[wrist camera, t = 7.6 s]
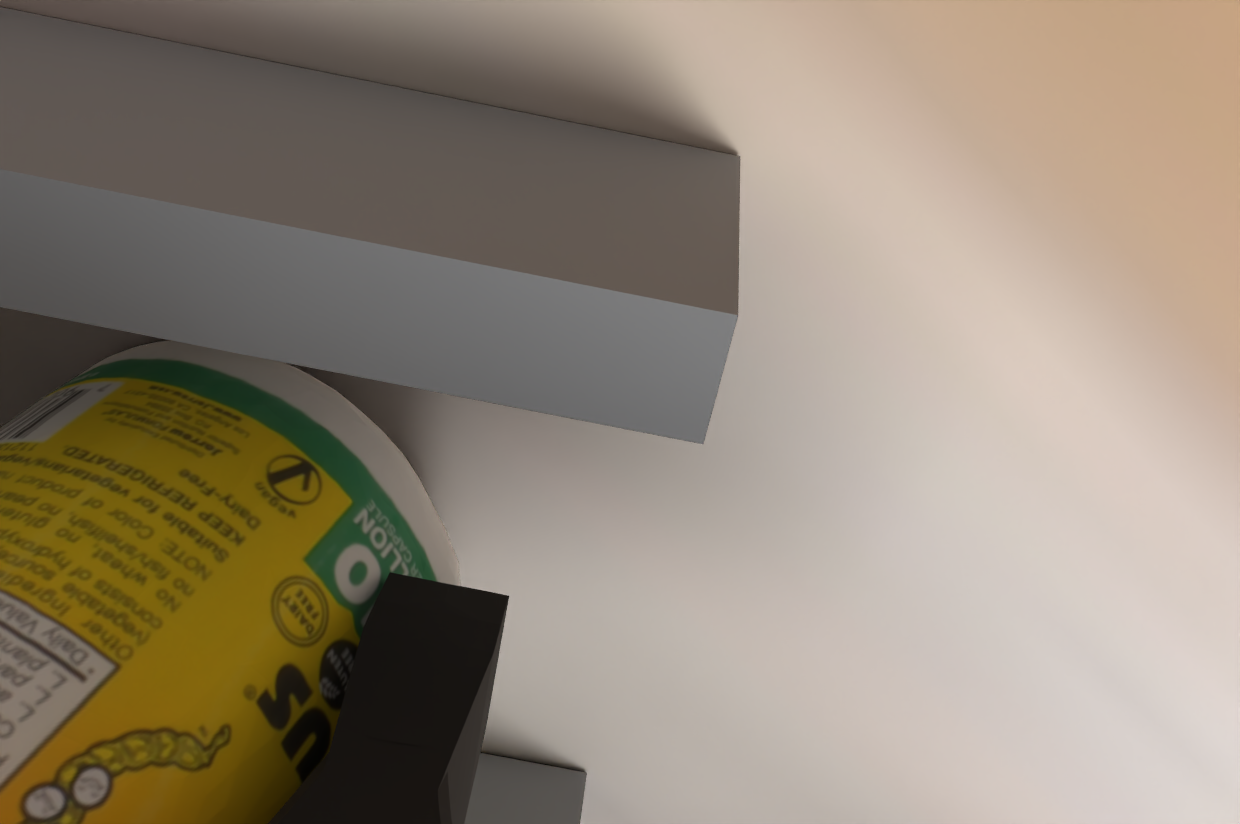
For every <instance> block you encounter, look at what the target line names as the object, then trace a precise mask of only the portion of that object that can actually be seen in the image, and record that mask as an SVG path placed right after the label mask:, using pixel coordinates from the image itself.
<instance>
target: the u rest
mask: <svg viewBox="0 0 1240 824" xmlns="http://www.w3.org/2000/svg"><path fill="white" fill-rule="evenodd" d="M739 204H740V156H736V155H731V154H726V153H721V152H716V151H711V150H706V149H702V148H697V147H692V146H687V145H682V144H677V143H672V142H667V141H662V140H657V139H652V138H647V137H642V136H637V135H632V134H627V133H622V132H617V131H612V130H607V129H602V128H598V127H593V126H588V125H583V124H578V123H573V122H568V121H563V120H558V119H553V118H548V117H543V116H538V115H533V114H528V113H523V112H518V111H513V110H508V109H503V108H498V107H494V106H489V105H484V104H479V103H474V102H469V101H464V100H459V99H454V98H449V97H444V96H439V95H434V94H429V93H424V92H419V91H414V90H409V89H404V88H399V87H394V86H390V85H385V84H380V83H375V82H370V81H365V80H360V79H355V78H350V77H345V76H340V75H335V74H330V73H325V72H320V71H315V70H310V69H305V68H300V67H295V66H290V65H285V64H281V63H276V62H271V61H266V60H261V59H256V58H251V57H246V56H241V55H236V54H231V53H226V52H221V51H216V50H211V49H206V48H201V47H196V46H191V45H186V44H181V43H177V42H172V41H167V40H162V39H157V38H152V37H147V36H142V35H137V34H132V33H127V32H122V31H117V30H112V29H107V28H102V27H97V26H92V25H87V24H82V23H77V22H73V21H68V20H63V19H58V18H53V17H48V16H43V15H38V14H33V13H28V12H23V11H18V10H13V9H8V8H3V7H0V307H2V308H7V309H13V310H18V311H23V312H28V313H33V314H38V315H43V316H48V317H54V318H59V319H64V320H69V321H74V322H79V323H84V324H89V325H95V326H100V327H105V328H110V329H115V330H120V331H125V332H130V333H136V334H141V335H146V336H151V337H156V338H161V339H166V340H171V341H177V342H182V343H187V344H192V345H197V346H202V347H207V348H212V349H218V350H223V351H228V352H233V353H238V354H243V355H248V356H253V357H259V358H264V359H269V360H274V361H279V362H284V363H289V364H294V365H300V366H305V367H310V368H315V369H320V370H325V371H330V372H335V373H341V374H346V375H351V376H356V377H361V378H366V379H371V380H376V381H382V382H387V383H392V384H397V385H402V386H407V387H412V388H418V389H423V390H428V391H433V392H438V393H443V394H448V395H453V396H459V397H464V398H469V399H474V400H479V401H484V402H489V403H494V404H500V405H505V406H510V407H515V408H520V409H525V410H530V411H535V412H541V413H546V414H551V415H556V416H561V417H566V418H571V419H576V420H582V421H587V422H592V423H597V424H602V425H607V426H612V427H617V428H623V429H628V430H633V431H638V432H643V433H648V434H653V435H658V436H664V437H669V438H674V439H679V440H684V441H689V442H694V443H699V444H703V443H704V440H705V436H706V432H707V429H708V425H709V421H710V417H711V414H712V410H713V406H714V403H715V399H716V395H717V392H718V388H719V384H720V380H721V377H722V373H723V369H724V366H725V362H726V358H727V354H728V351H729V347H730V343H731V340H732V336H733V332H734V329H735V325H736V321H737V317H738V281H739ZM586 775H587V773H585V772H580V771H575V770H569V769H564V768H558V767H553V766H548V765H542V764H537V763H532V762H526V761H521V760H516V759H510V758H505V757H500V756H494V755H489V754H484V753H480V756H479V761H478V765H477V770H476V774H475V778H474V783H473V787H472V792H471V796H470V801H469V805H468V809H467V814H466V818H465V823H464V824H580V819H581V811H582V804H583V797H584V789H585V782H586Z"/></svg>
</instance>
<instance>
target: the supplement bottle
mask: <svg viewBox="0 0 1240 824" xmlns="http://www.w3.org/2000/svg"><path fill="white" fill-rule="evenodd" d="M390 572H391V573H396V574H401V575H406V576H412V577H417V578H422V579H427V580H432V581H437V582H442V583H447V584H452V585H457V586H461V583H460V576H459V562H458V559H457V557H456V555H455V552H454V550H453V547H452V544H451V542H450V539H449V537H448V534H447V532H446V529H445V527H444V525H443V523H442V521H441V520H440V518H439V516H438V514H437V512H436V510H435V508H434V506H433V504H432V502H431V500H430V498H429V496H428V495H427V493H426V491H425V489H424V487H423V485H422V483H421V481H420V479H419V477H418V476H417V474H416V473H415V471H414V470H413V468H412V467H411V465H410V464H409V462H408V461H407V459H406V458H405V456H404V455H403V453H402V452H401V451H400V450H399V449H398V448H397V447H396V445H395V444H394V443H393V442H392V441H391V440H390V439H389V438H388V436H387V435H386V434H385V433H384V432H383V431H382V430H381V429H380V428H379V427H378V426H377V425H376V424H375V423H374V422H373V421H372V420H370V419H369V418H368V417H367V416H366V415H365V414H364V413H363V412H361V411H360V410H359V409H358V408H357V407H356V406H354V405H353V404H352V403H351V402H350V401H348V400H347V399H346V398H345V397H343V396H342V395H341V394H340V393H338V392H337V391H336V390H335V389H333V388H331V387H329V386H328V385H326V384H324V383H323V382H321V381H319V380H318V379H316V378H314V377H313V376H311V375H309V374H307V373H305V372H303V371H302V370H300V369H298V368H296V367H293V366H291V365H289V364H287V363H284V362H279V361H274V360H269V359H264V358H259V357H253V356H248V355H243V354H238V353H233V352H228V351H223V350H218V349H212V348H207V347H202V346H197V345H192V344H187V343H182V342H177V341H162V342H155V343H150V344H145V345H141V346H137V347H134V348H131V349H128V350H124V351H122V352H120V353H117V354H115V355H112V356H110V357H107V358H106V359H104V360H102V361H100V362H98V363H96V364H95V365H93V366H92V367H90V368H89V369H87V370H86V371H84V372H83V373H81V374H80V375H78V376H77V377H75V378H74V379H72V380H71V381H69V382H67V383H66V384H64V385H63V386H61V387H60V388H58V389H57V390H55V391H54V392H52V393H50V394H49V395H47V396H46V397H44V398H43V399H41V400H40V401H38V402H37V403H35V404H34V405H32V406H31V407H30V408H28V409H27V410H25V411H24V412H23V413H21V414H20V415H18V416H17V417H15V418H14V419H12V420H11V421H9V422H8V423H6V424H5V425H3V426H1V427H0V824H267V823H268V822H269V821H270V820H271V819H272V818H273V817H274V816H275V815H276V814H277V812H278V811H279V810H280V809H281V808H282V807H283V805H284V804H285V803H286V802H287V801H288V800H289V798H290V797H291V796H292V795H293V794H294V793H295V791H296V790H297V789H298V788H299V787H300V785H301V784H302V783H303V782H304V781H305V780H306V778H307V777H308V776H309V775H310V774H311V773H312V771H313V770H314V769H315V768H316V767H317V766H318V764H319V763H320V762H321V761H322V760H323V759H324V757H325V756H326V755H327V754H328V753H329V750H330V746H331V743H332V739H333V735H334V732H335V728H336V724H337V721H338V717H339V714H340V710H341V706H342V703H343V699H344V695H345V692H346V688H347V684H348V681H349V677H350V673H351V670H352V666H353V663H354V659H355V655H356V652H357V648H358V645H359V641H360V638H361V634H362V631H363V627H364V625H365V623H366V621H367V618H368V616H369V614H370V612H371V610H372V608H373V605H374V603H375V601H376V599H377V597H378V595H379V593H380V591H381V589H382V587H383V585H384V583H385V581H386V579H387V577H388V575H389V573H390Z"/></svg>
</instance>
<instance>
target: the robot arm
mask: <svg viewBox="0 0 1240 824" xmlns="http://www.w3.org/2000/svg"><path fill="white" fill-rule="evenodd" d="M508 599H509V596H507V595H502V594H497V593H492V592H487V591H482V590H477V589H472V588H467V587H462V586H457V585H452V584H447V583H442V582H437V581H432V580H427V579H422V578H417V577H412V576H406V575H401V574H396V573H391V572H390V573H389V575H388V577H387V579H386V581H385V583H384V585H383V587H382V589H381V591H380V593H379V595H378V597H377V599H376V601H375V603H374V605H373V608H372V610H371V612H370V614H369V616H368V618H367V621H366V623H365V625H364V627H363V631H362V634H361V638H360V641H359V645H358V648H357V652H356V655H355V659H354V663H353V666H352V670H351V673H350V677H349V681H348V684H347V688H346V692H345V695H344V699H343V703H342V706H341V710H340V714H339V717H338V721H337V724H336V728H335V732H334V735H333V739H332V743H331V746H330V750H329V753H328V754H327V755H326V756H325V757H324V759H323V760H322V761H321V762H320V763H319V764H318V766H317V767H316V768H315V769H314V770H313V771H312V773H311V774H310V775H309V776H308V777H307V778H306V780H305V781H304V782H303V783H302V784H301V785H300V787H299V788H298V789H297V790H296V791H295V793H294V794H293V795H292V796H291V797H290V798H289V800H288V801H287V802H286V803H285V804H284V805H283V807H282V808H281V809H280V810H279V811H278V812H277V814H276V815H275V816H274V817H273V818H272V819H271V820H270V821H269V822H268V823H267V824H464V823H465V818H466V814H467V809H468V805H469V801H470V796H471V792H472V787H473V783H474V778H475V774H476V770H477V765H478V761H479V756H480V752H481V747H482V743H483V738H484V734H485V729H486V724H487V719H488V713H489V707H490V701H491V696H492V690H493V684H494V679H495V673H496V667H497V662H498V656H499V650H500V644H501V639H502V633H503V627H504V622H505V616H506V610H507V605H508Z"/></svg>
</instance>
